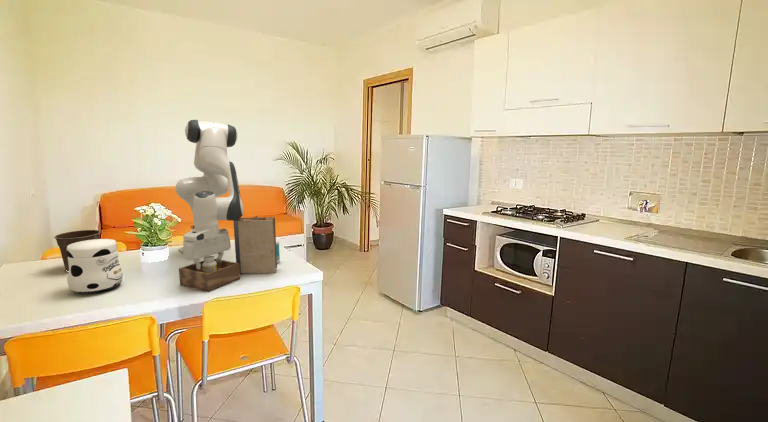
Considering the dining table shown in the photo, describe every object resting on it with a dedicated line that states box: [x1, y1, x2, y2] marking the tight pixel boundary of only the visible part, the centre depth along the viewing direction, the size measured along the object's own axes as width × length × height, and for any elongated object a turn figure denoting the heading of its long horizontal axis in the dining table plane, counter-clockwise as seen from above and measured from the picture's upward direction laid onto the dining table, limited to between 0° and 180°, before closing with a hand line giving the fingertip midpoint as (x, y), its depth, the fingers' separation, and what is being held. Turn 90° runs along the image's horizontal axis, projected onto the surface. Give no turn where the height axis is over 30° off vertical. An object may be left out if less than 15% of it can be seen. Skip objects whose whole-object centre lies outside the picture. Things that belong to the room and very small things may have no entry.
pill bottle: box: [276, 238, 281, 264], centre depth 188 cm, size 8×7×14 cm
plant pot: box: [53, 229, 102, 271], centre depth 176 cm, size 16×16×16 cm
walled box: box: [178, 258, 241, 293], centre depth 162 cm, size 16×16×7 cm
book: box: [233, 215, 278, 274], centre depth 174 cm, size 17×7×25 cm, turn 98°
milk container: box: [66, 238, 124, 294], centre depth 153 cm, size 17×17×18 cm
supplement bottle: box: [202, 255, 217, 273], centre depth 161 cm, size 5×5×10 cm
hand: (209, 265), depth 161 cm, fingers open, 8 cm apart
